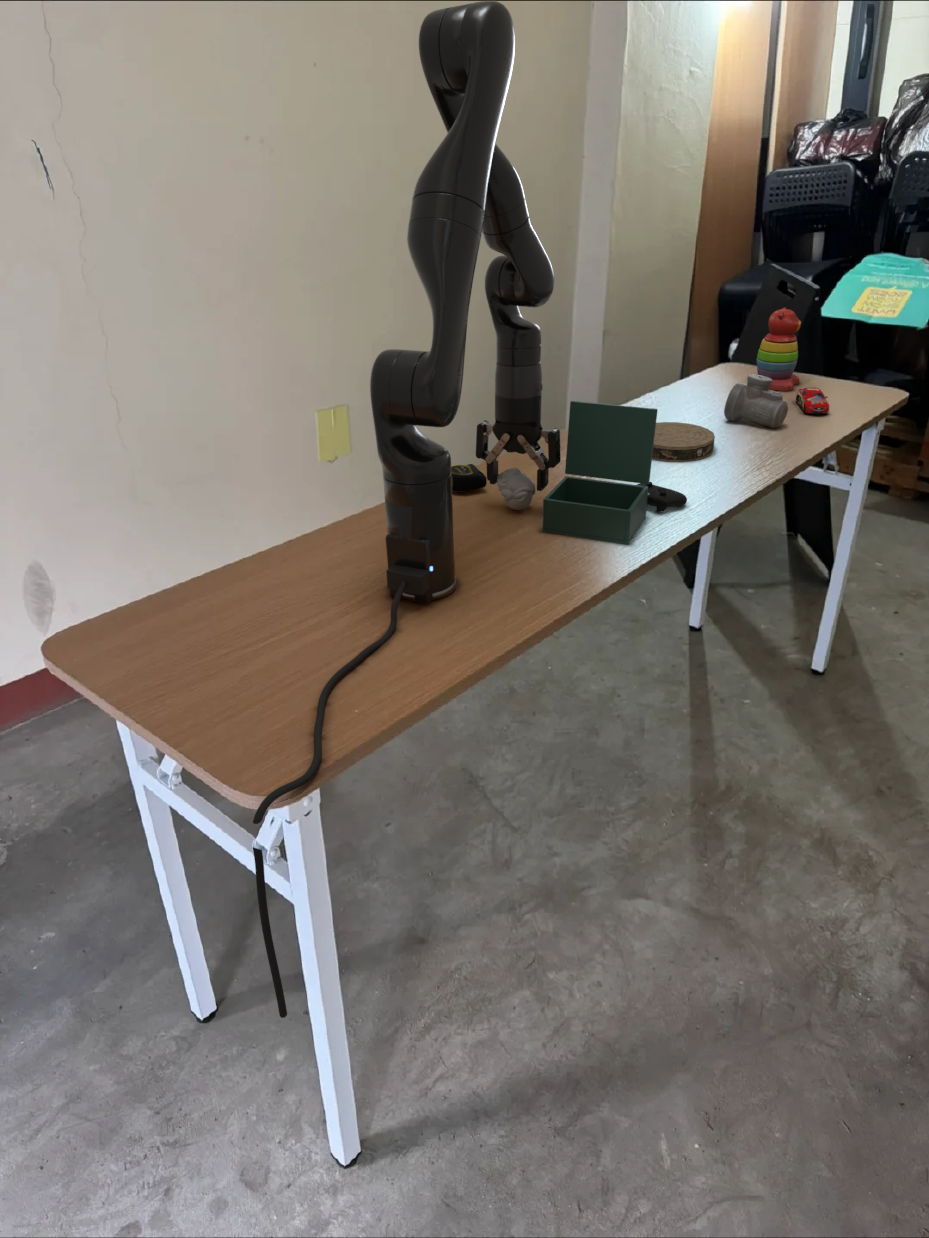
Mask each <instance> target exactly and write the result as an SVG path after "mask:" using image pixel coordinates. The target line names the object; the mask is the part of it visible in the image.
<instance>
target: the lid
mask: <svg viewBox="0 0 929 1238" xmlns="http://www.w3.org/2000/svg"><path fill="white" fill-rule="evenodd" d="M568 414H569V416H568V428H567V442H566V454H565V468H564V474H565V475H570V476H571V475H572V476H580V477H587V478H595V479H601V480H602V479H603V480H610V481H611V480H612V481H617V482H618V481H620V482H627V483H635V484H640V483H642V484H649V482H650V479H651V471H652V470H651V469H652V462H653V459H652V454H653V445H654V437H655V428H656V423H657V419H658V408H653V407H652V408H651V407H644V406H643V407H641V406H630V405H620V404H612V403H611V404H610V403H599V402H587V401H577V400H571V401H570V403H569V413H568Z"/></svg>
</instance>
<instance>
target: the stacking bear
mask: <svg viewBox="0 0 929 1238" xmlns="http://www.w3.org/2000/svg"><path fill="white" fill-rule="evenodd" d="M801 327H802V321H801V320H800V319H799V317H798V316H797V315H796V312H795V311H793V310H791V309H787V307H782V308H781V309H777V310H775V311H774V312H772V313H771V314H770V316H769V318H768V331H769V333H767V334H766V335H764V338H763V339H762V340H761V343H760V345H759V349H758V351H757V356H756V367H757V368H756V371H757V375H762V376H766V377H769V378H771V379H772V383H771V385H770V387H769V390H772V391H778V392H790V391H792V390H794V386H796V385H798V384H800V377H799V376H798V375H796V374H794V372H795V368H796V366H797V364H798V360H799V359H798V358H799V349H798V348H799V346H798V337H797V335H796V333H797V332H798V331H799V330H800V328H801Z"/></svg>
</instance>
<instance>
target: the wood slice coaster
mask: <svg viewBox="0 0 929 1238" xmlns="http://www.w3.org/2000/svg"><path fill="white" fill-rule="evenodd" d="M715 439H716V436H715V433H714V432H713V431H712V430H710V429H709V428H707V427H704V426H702V425H698V424H693V423H686V422H678V421H662V422H656V428H655V437H654V445H653V454H652V461H660V462H666V463H686V462H687V463H688V462H696V461H699V460H705V459H706V458H708V457H709V456H711V455H712V454H713V452H714V447H715Z"/></svg>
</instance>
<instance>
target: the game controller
mask: <svg viewBox="0 0 929 1238" xmlns="http://www.w3.org/2000/svg"><path fill="white" fill-rule="evenodd" d="M636 485H639V486H647V487H648V497H647V506H652V507H655V508H656V509H655V510H656V513H663V512H665V511H666V510H667V509H669V508H680V507H684V506H685V505H686V504H687V503H688V498H687V496H686V494H684V493H682V492H679V491H677V490H674V489H671V488H667V487H663V486H659V485H657V484H653V482H652V481H649V484H642V483H636Z"/></svg>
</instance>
